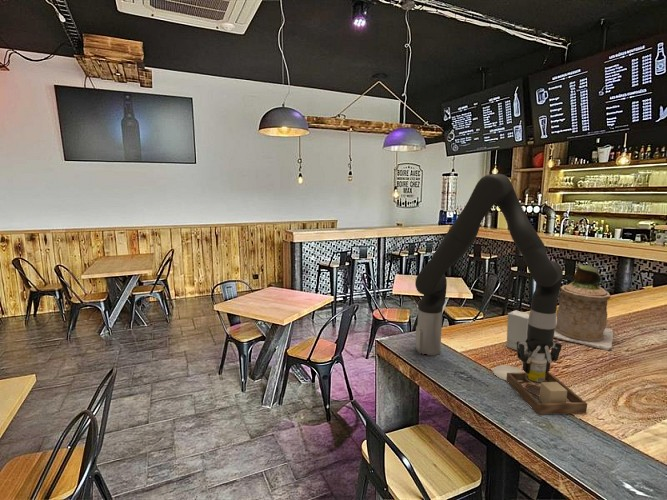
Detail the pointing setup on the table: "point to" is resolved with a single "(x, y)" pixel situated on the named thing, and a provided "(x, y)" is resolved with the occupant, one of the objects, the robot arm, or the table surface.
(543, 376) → the supplement bottle
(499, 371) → the coaster
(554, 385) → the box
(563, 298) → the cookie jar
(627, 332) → the table surface
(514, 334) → the skincare box
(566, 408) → the wooden frame
